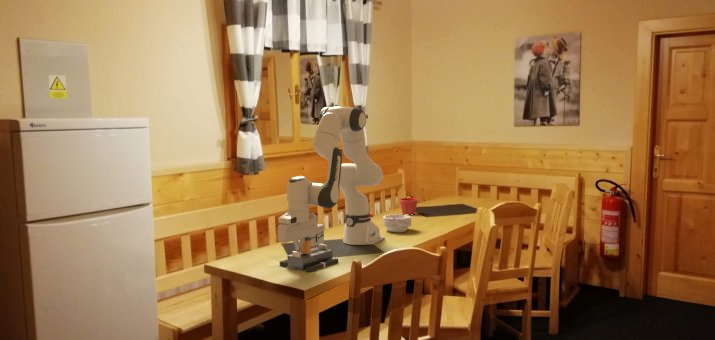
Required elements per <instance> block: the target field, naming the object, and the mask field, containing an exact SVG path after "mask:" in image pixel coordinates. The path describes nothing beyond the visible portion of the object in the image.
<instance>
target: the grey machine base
mask: <svg viewBox="0 0 715 340" xmlns="http://www.w3.org/2000/svg"><path fill="white" fill-rule="evenodd" d="M286 257H287V258H286V259H287V261H288V266H287V268H288V269H294V270H296V271H297V270H298V271H301V272H304V271H305V272H306V268H307V267H310V266H313V265H317V264H320V262H326V261H329V260H332V259H333V249H330V248H328V244H325V243H324V244H319V247H315V248H312V249H311V253H310V254H304V253H301V252H300V251H297V250H293V251H292V254H288V255H287V256H286Z"/></svg>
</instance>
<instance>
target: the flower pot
mask: <svg viewBox="0 0 715 340" xmlns="http://www.w3.org/2000/svg"><path fill="white" fill-rule="evenodd" d="M399 202H400V204H399V205H400V208H401V213H403V214H416V210H417V206H418V199H417V198H416V197H415V198H414V197H403V198H400V199H399ZM403 214H402V215H403Z"/></svg>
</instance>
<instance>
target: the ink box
mask: <svg viewBox="0 0 715 340" xmlns="http://www.w3.org/2000/svg"><path fill="white" fill-rule="evenodd" d="M317 224H318V233H317V234H316V235H313V236H309V237H308V238H311V249H312V248H315V247H319V244H325V225H324V224H321V223H317Z"/></svg>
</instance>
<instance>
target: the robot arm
mask: <svg viewBox="0 0 715 340" xmlns="http://www.w3.org/2000/svg"><path fill="white" fill-rule="evenodd" d="M318 114H319V115H318V121H319V122H318V125H317V128H316V129H315V133H314V138H313V142H312V147H313V150H314V151H315V153H316V154H317V155H319V156H320V157H321V158H324V159H325V160H326V161H327V164H328V167H327V175H326V176H327V177H326V181H325V182H324V183H321V182H319V183H318V182H314V181H310V180H309V179H307V177H306V176H303V175H298V176H292V177H291V178H290V179H288V182H287V186H286V187H287V188H286V200H287V207H286V208H287V209H286V210H287V211H286V212H285V213H284V214H282V215H281V216H279V217H278V218H277V222H278V223H279V224H278V225H277V240H278V242H280V243H282V244H284V243H285V244H287V243H290V242H292V243H293V244H294V248H295V251H298V250H299V251H300V249H302V248H303V243H304V241H305V237H309V236H313V235H316V234H317V233H318V224H319V223H318V221H317V215H316V214H315V213H314V212H312V213H311V212H310V207H309V206H314V207H319V208H320V207H321V208H324V209H332V208H334V207H335V206H336V205H337V204H338V202H339V200H340V190H341V192H342V194H343V196H344V200H345V201H344V203H345V213H344V214H345V215H344V221H345V223H344V227H343V228H344V230H343V237H342V239H341V240H342V243H343V244H346V245H352V246H354V245H355V246H362V245H365V246H366V245H374V244H377V243H378V242H380V241H382V240H384V239H385V236H384V235H381V234H380V228H379V226H378V225H377V224H375V223H374V222H373V221H372V219H371V218H374V217H375V215H374V213H373V212H372V213H371V212H369V198H368V197H367V195H365V194H364V193H362V192H361V191H359V190H358V187H373V186H379V184H381V182H382V181H383V179H384V173H383V169H382V168H381V166H380V165H378V164H377V163H375V161H373V160H372V159H371V157H370V155H369V154H368V150H367V145H366V135H365V130H364V129H365V125H366V123H367V117H366V114H365V112H364V110H363V109H362V108H358V107H351V106H350V107H349V106H325V107H323V108H322V109H321V110H320V112H319V113H318ZM340 140H341V145H342V146H341V147H342V151H341V149H340ZM343 155H344V156H345V158H346V159H348V160H349V161H350V160H351V161H352V162H353V163H350V162H349V163H348V162H345V163H343Z"/></svg>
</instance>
